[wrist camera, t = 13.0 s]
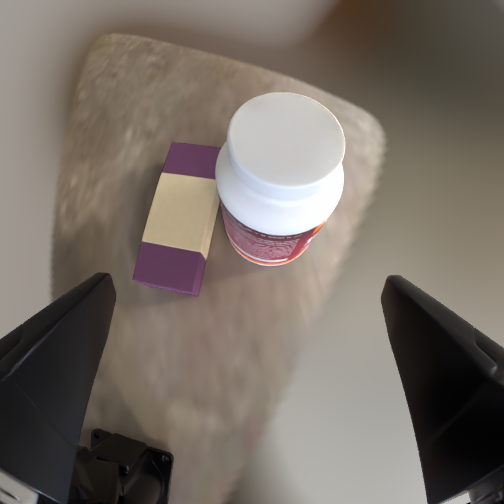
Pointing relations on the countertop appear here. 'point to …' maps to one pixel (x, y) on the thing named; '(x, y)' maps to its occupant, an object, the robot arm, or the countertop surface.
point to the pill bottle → (279, 175)
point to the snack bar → (180, 221)
